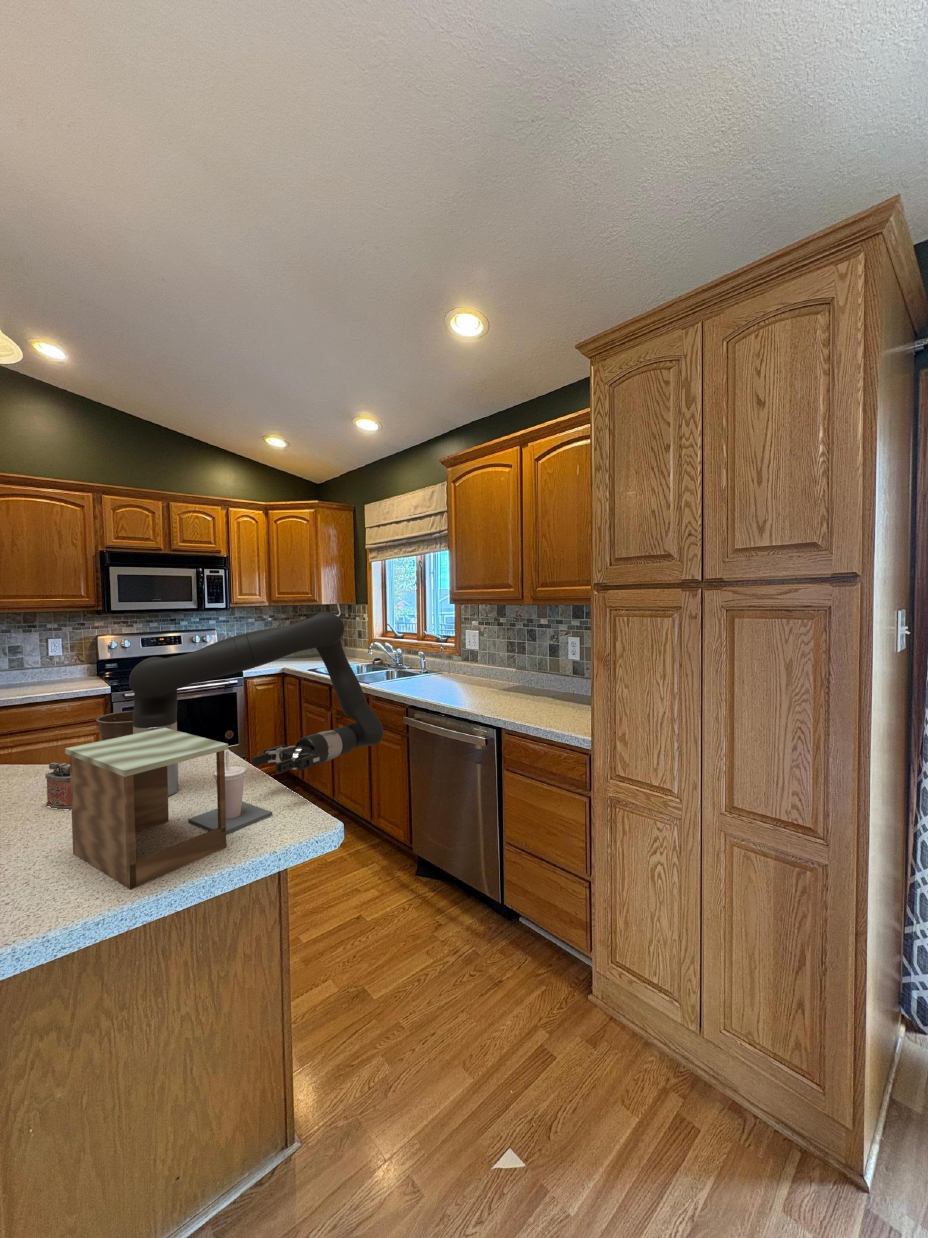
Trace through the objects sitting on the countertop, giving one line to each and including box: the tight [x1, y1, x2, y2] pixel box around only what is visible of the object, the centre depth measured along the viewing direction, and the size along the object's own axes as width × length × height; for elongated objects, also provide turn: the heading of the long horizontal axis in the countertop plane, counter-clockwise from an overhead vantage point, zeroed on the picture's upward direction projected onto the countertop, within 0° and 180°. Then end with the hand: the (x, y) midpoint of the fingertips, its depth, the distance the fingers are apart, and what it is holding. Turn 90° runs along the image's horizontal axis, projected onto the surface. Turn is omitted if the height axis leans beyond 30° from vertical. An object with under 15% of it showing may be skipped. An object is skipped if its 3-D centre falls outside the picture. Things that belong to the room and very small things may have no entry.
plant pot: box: [95, 710, 134, 741], centre depth 141 cm, size 16×16×16 cm
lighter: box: [45, 762, 71, 809], centre depth 118 cm, size 8×3×10 cm, turn 71°
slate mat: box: [187, 800, 273, 836], centre depth 112 cm, size 12×12×1 cm
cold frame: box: [64, 728, 229, 890], centre depth 97 cm, size 23×18×20 cm
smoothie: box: [213, 750, 247, 819], centre depth 111 cm, size 6×6×14 cm
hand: (264, 765), depth 118 cm, fingers open, 8 cm apart
